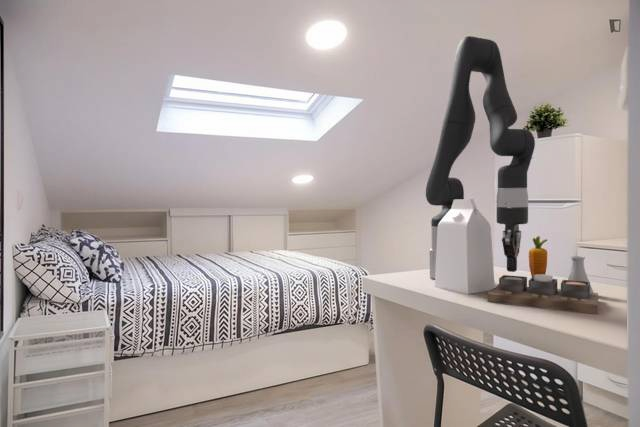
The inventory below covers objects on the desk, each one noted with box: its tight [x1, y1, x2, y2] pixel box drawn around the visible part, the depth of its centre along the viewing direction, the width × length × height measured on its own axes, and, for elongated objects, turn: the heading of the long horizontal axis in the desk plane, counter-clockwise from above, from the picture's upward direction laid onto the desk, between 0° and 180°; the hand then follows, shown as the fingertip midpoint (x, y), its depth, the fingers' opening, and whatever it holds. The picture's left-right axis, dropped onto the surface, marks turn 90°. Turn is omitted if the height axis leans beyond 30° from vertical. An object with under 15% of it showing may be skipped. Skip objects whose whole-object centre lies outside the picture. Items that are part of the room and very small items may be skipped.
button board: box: [486, 274, 599, 315], centre depth 103 cm, size 23×14×5 cm, turn 55°
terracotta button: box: [566, 282, 586, 285], centre depth 100 cm, size 4×4×2 cm
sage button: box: [504, 277, 522, 280], centre depth 108 cm, size 4×4×2 cm
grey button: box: [534, 274, 554, 283], centre depth 104 cm, size 4×4×2 cm
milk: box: [434, 198, 496, 295], centre depth 120 cm, size 12×12×26 cm
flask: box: [567, 255, 595, 293], centre depth 110 cm, size 7×7×10 cm
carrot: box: [528, 235, 548, 278], centre depth 119 cm, size 5×5×15 cm
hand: (511, 271), depth 108 cm, fingers closed
